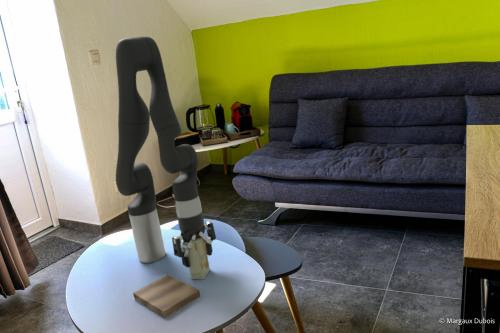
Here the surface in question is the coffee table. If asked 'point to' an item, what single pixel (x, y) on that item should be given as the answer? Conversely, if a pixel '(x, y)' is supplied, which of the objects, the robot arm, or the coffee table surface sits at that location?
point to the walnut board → (166, 295)
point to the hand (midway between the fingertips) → (198, 260)
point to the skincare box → (198, 259)
